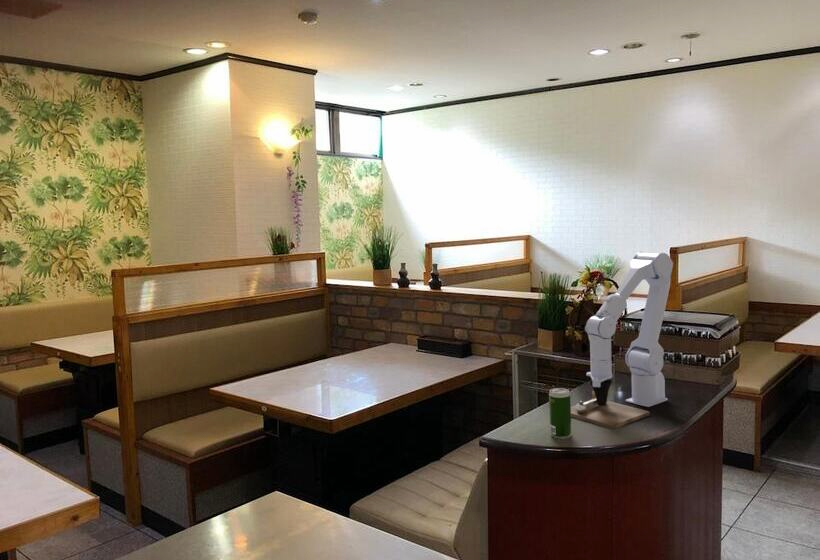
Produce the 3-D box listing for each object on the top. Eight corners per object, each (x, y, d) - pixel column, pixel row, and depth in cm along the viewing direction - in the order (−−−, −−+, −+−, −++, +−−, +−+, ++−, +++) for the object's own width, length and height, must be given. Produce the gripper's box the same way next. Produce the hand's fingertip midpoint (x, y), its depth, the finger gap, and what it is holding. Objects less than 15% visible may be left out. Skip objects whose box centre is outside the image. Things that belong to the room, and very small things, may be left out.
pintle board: (597, 401, 196) (597, 386, 195) (649, 415, 181) (649, 399, 180) (560, 413, 187) (560, 398, 186) (612, 429, 172) (611, 412, 171)
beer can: (561, 441, 166) (559, 395, 165) (546, 435, 170) (544, 390, 169) (576, 435, 169) (574, 390, 167) (560, 430, 173) (559, 386, 172)
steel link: (582, 413, 182) (581, 403, 181) (574, 411, 184) (574, 401, 183) (609, 403, 189) (608, 393, 189) (601, 401, 191) (601, 391, 191)
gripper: (591, 352, 193) (592, 396, 194) (580, 363, 180) (582, 411, 181) (616, 353, 189) (617, 398, 191) (607, 365, 177) (608, 414, 178)
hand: (601, 405), depth 186 cm, fingers closed, pressing on steel link
